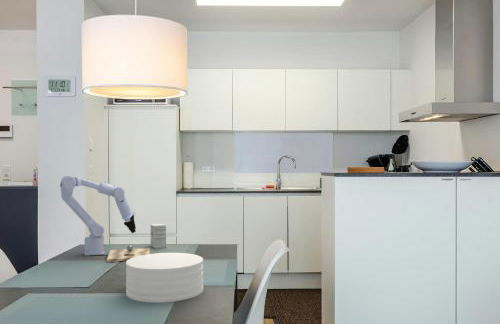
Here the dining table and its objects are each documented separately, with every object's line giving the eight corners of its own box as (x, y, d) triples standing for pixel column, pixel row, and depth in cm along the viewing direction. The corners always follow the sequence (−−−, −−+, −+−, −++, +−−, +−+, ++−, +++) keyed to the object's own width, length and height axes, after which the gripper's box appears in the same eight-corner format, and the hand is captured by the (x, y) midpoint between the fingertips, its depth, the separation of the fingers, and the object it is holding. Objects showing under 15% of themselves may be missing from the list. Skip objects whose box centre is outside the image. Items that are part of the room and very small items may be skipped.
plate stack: (169, 277, 187) (169, 249, 187) (218, 289, 169) (218, 258, 169) (110, 292, 165) (110, 261, 165) (159, 308, 147) (159, 273, 147)
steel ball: (126, 251, 233) (126, 245, 233) (126, 250, 236) (126, 244, 236) (132, 251, 234) (132, 245, 234) (132, 250, 237) (132, 244, 237)
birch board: (106, 262, 215) (106, 259, 215) (110, 252, 238) (110, 249, 238) (149, 260, 220) (149, 257, 220) (149, 250, 243) (149, 248, 243)
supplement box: (150, 246, 257) (150, 224, 257) (163, 245, 260) (163, 223, 260) (153, 248, 250) (153, 225, 250) (166, 247, 253) (166, 224, 253)
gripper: (131, 207, 236) (141, 231, 239) (131, 202, 250) (140, 224, 253) (118, 213, 235) (128, 236, 237) (119, 207, 249) (128, 229, 251)
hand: (133, 230), depth 245 cm, fingers open, 7 cm apart
